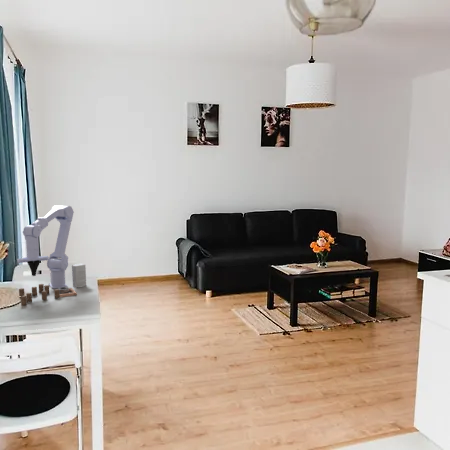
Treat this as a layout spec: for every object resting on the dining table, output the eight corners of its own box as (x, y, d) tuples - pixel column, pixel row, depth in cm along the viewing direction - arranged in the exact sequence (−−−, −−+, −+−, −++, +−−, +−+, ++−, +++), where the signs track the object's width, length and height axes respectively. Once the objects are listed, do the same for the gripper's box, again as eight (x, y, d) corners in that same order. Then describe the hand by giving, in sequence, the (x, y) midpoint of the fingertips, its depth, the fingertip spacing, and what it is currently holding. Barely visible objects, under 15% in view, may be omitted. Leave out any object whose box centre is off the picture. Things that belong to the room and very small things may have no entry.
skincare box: (82, 284, 262) (81, 263, 261) (86, 285, 259) (85, 264, 258) (72, 286, 258) (71, 264, 257) (76, 288, 255) (75, 266, 254)
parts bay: (54, 292, 247) (54, 290, 247) (71, 290, 251) (71, 287, 251) (59, 297, 238) (59, 295, 238) (76, 295, 242) (76, 292, 242)
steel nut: (56, 293, 245) (56, 287, 245) (67, 291, 248) (66, 286, 247) (59, 296, 240) (59, 290, 240) (69, 294, 243) (69, 289, 242)
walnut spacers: (15, 294, 242) (15, 287, 241) (53, 289, 251) (53, 282, 251) (21, 305, 224) (21, 297, 224) (61, 300, 234) (61, 292, 233)
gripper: (18, 251, 230) (19, 279, 232) (49, 249, 238) (50, 275, 239) (16, 249, 236) (17, 275, 238) (46, 246, 244) (47, 272, 245)
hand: (33, 275), depth 239 cm, fingers closed
